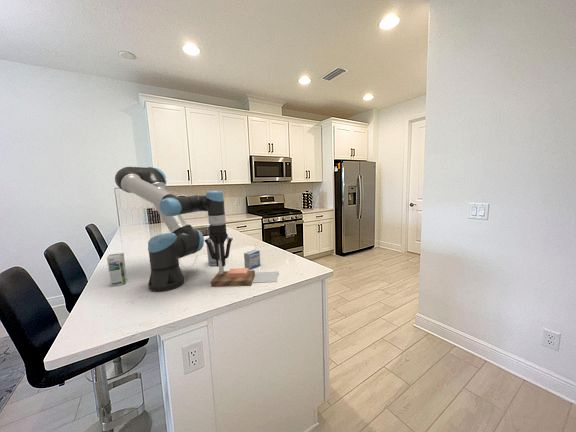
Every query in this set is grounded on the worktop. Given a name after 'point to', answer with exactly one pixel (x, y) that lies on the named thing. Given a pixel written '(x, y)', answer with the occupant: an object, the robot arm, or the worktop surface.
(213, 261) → the supplement tub
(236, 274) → the card
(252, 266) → the medicine box
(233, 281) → the deck
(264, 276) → the mat
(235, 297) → the worktop surface
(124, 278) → the syrup box
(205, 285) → the worktop surface
